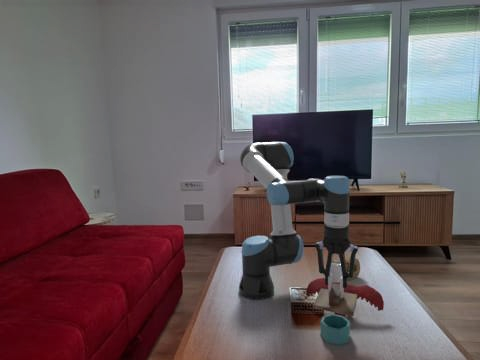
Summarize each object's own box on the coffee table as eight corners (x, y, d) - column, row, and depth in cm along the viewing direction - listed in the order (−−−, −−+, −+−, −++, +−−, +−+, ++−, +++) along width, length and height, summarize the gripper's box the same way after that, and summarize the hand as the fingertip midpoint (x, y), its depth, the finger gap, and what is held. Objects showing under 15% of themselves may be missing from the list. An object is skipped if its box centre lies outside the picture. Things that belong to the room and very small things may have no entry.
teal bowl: (318, 340, 104) (318, 325, 103) (324, 325, 112) (324, 312, 111) (347, 347, 100) (347, 332, 99) (350, 331, 108) (351, 317, 107)
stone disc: (347, 283, 143) (348, 261, 142) (340, 280, 146) (341, 259, 145) (361, 276, 149) (362, 256, 148) (354, 274, 152) (355, 254, 151)
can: (343, 294, 133) (344, 267, 131) (327, 293, 134) (328, 266, 132) (342, 287, 139) (342, 261, 137) (326, 286, 140) (327, 260, 139)
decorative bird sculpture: (382, 333, 113) (384, 291, 121) (382, 327, 106) (384, 283, 114) (304, 316, 126) (310, 279, 133) (299, 309, 119) (306, 271, 126)
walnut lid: (313, 308, 101) (313, 294, 101) (320, 291, 112) (320, 278, 111) (353, 316, 96) (353, 301, 95) (357, 297, 107) (357, 284, 106)
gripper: (308, 225, 101) (308, 296, 104) (362, 230, 94) (361, 305, 97) (313, 220, 108) (313, 286, 111) (364, 224, 101) (363, 294, 104)
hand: (335, 295), depth 104 cm, fingers closed on walnut lid, 3 cm apart
